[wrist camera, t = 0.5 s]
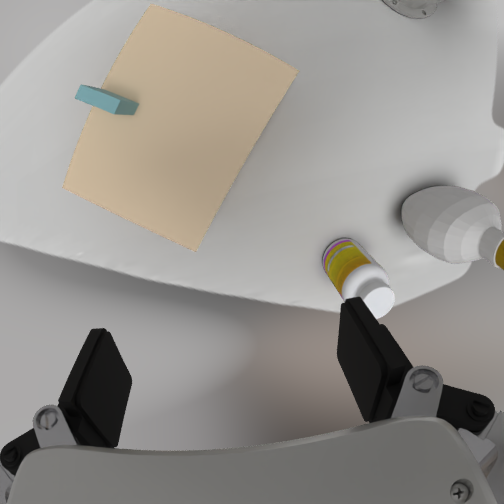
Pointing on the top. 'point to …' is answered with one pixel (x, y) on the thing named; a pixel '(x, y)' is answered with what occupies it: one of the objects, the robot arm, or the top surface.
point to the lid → (174, 124)
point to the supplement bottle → (358, 276)
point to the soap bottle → (454, 225)
